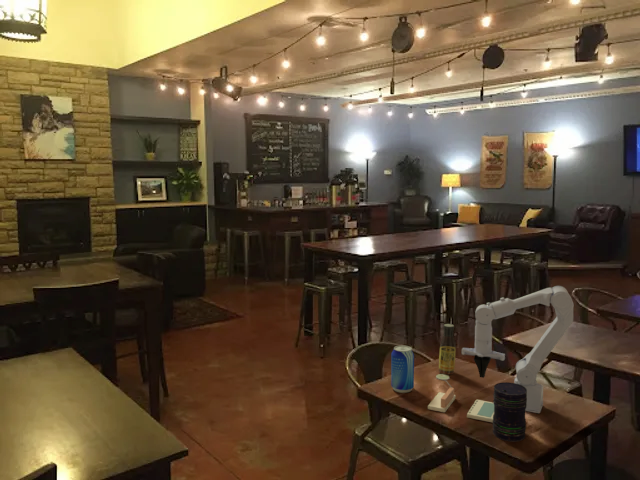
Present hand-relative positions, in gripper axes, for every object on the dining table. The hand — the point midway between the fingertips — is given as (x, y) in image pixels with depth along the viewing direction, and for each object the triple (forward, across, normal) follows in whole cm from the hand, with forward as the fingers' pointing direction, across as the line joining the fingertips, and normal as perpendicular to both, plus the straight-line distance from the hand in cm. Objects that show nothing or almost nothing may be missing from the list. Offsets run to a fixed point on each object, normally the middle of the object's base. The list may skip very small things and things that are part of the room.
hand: (482, 376), depth 197 cm
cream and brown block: (+9, -12, -8) cm, 17 cm away
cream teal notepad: (+9, +3, -8) cm, 13 cm away
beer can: (+10, -29, -2) cm, 31 cm away
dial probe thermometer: (+10, -16, +12) cm, 22 cm away
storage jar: (+10, +13, -20) cm, 26 cm away
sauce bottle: (+10, -19, +22) cm, 31 cm away
